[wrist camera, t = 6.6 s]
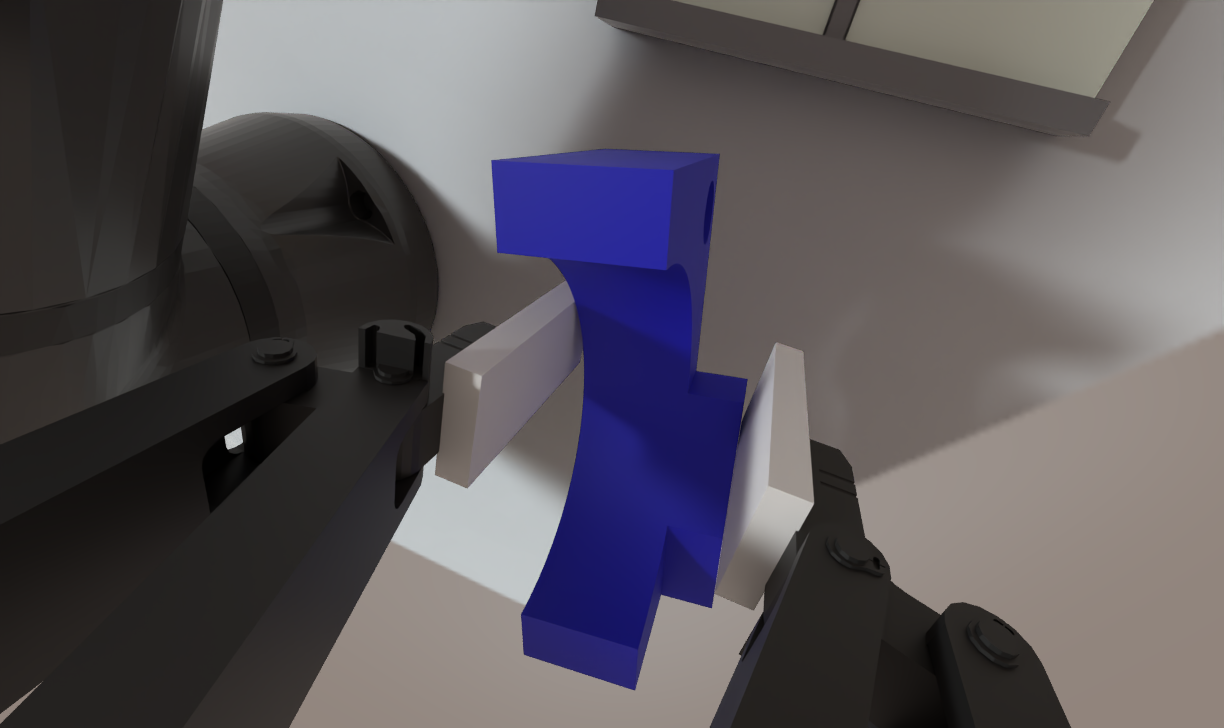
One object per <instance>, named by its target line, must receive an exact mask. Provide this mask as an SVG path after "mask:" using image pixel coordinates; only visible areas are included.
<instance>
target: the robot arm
mask: <svg viewBox="0 0 1224 728" xmlns="http://www.w3.org/2000/svg"><path fill="white" fill-rule="evenodd" d="M222 4H223V0H0V714H1V713H2V712H3V711H5V710H6V709H7V708H8V707H10V706H11V705H12V704H14V703H15V702H16V701H18V700H19V699H20V698H21V697H23V696H24V695H25V694H27V693H28V692H29V691H31V690H32V689H33V688H35V687H36V686H37V685H39V684H40V683H41V682H42V683H41V684H40V685H39V686H38V687H37V688H36V689H35V690H34V691H33V692H32V693H31V694H30V695H29V696H28V697H27V698H26V699H25V700H24V701H23V702H22V703H21V704H20V705H19V706H18V707H17V708H16V709H15V710H14V711H13V712H12V713H11V714H10V715H9V716H8V717H7V718H6V719H5V720H4V721H3V722H2V723H1V724H0V728H289V727H290V725H291V723H292V721H293V719H294V717H295V716H296V714H297V712H298V710H299V708H300V706H301V705H302V702H303V701H304V699H305V697H306V695H307V693H308V691H309V690H310V688H311V686H312V684H313V682H314V681H315V679H316V677H317V675H318V673H319V671H320V670H321V668H322V666H323V664H324V662H325V660H326V659H327V657H328V655H329V653H330V651H331V649H332V647H333V645H334V644H335V642H336V640H337V638H338V636H339V635H340V633H341V631H342V629H343V627H344V625H345V624H346V622H347V620H348V618H349V616H350V614H351V613H352V611H353V609H354V607H355V605H356V603H357V601H358V600H359V598H360V596H361V594H362V592H363V590H364V588H365V586H366V585H367V583H368V581H369V579H370V577H371V576H372V574H373V572H374V570H375V568H376V567H377V565H378V563H379V561H380V559H381V557H382V555H383V554H384V552H385V550H386V548H387V546H388V544H389V543H390V541H391V539H392V537H393V535H394V533H395V532H396V530H397V528H398V526H399V524H400V522H401V521H402V519H403V517H404V515H405V513H406V511H407V509H408V508H409V506H410V504H411V502H412V500H413V498H414V497H415V495H416V493H417V491H418V489H419V487H420V486H421V482H422V478H423V467H424V465H425V464H426V463H427V462H428V461H430V460H431V459H432V458H433V457H434V456H435V455H436V454H437V459H436V470H435V475H437V476H439V477H441V478H444V479H446V480H449V481H451V482H453V483H456V484H458V485H460V486H463V487H465V488H468V487H469V486H470V485H471V484H472V483H473V482H474V480H475V479H476V478H477V477H478V476H479V475H480V474H481V473H482V471H483V470H484V469H485V468H486V467H487V466H488V465H489V464H490V462H491V461H492V460H493V459H494V458H495V457H496V456H497V455H498V454H499V452H500V451H501V450H502V449H503V448H504V447H505V446H506V445H507V443H508V442H509V441H510V440H511V439H512V438H513V437H514V436H515V434H516V433H517V432H518V431H519V430H520V429H521V428H522V427H523V425H524V424H525V423H526V422H527V421H528V420H529V419H530V418H531V417H532V415H533V414H534V413H535V412H536V411H537V410H538V409H539V408H540V406H541V405H542V404H543V403H544V402H545V401H546V400H547V399H548V397H549V396H550V395H551V394H552V393H553V392H554V391H555V390H556V388H557V387H558V386H559V385H560V384H561V383H562V382H563V381H564V380H565V378H566V377H567V376H568V375H569V374H570V373H571V372H572V371H573V369H574V368H575V367H576V366H577V365H578V364H579V363H580V359H581V355H582V350H583V341H582V333H581V326H580V321H579V316H578V311H577V308H576V304H575V301H574V298H573V295H572V292H571V290H570V287H569V285H568V283H567V281H566V280H565V281H564V282H562V283H561V284H559V285H558V286H556V287H555V288H553V289H552V290H551V291H549V292H548V293H546V294H545V295H543V296H542V297H540V298H539V299H537V300H536V301H534V302H533V303H531V304H530V305H528V306H527V307H525V308H524V309H523V310H521V311H520V312H518V313H517V314H515V315H514V316H512V317H511V318H509V319H508V320H506V321H505V322H503V323H502V324H500V325H499V326H497V327H496V326H493V325H490V324H487V323H485V322H480V323H476V324H471V325H467V326H464V327H462V328H460V329H459V330H457V331H456V332H454V333H452V334H451V336H447V337H446V338H444V339H442V340H441V342H437V343H436V344H434V345H433V336H432V334H431V333H430V329H431V326H432V324H433V320H434V317H435V312H436V307H437V298H438V277H437V267H436V260H435V255H434V251H433V247H432V243H431V239H430V236H429V233H428V230H427V227H426V225H425V222H424V220H423V218H422V215H421V213H420V211H419V209H418V207H417V205H416V203H415V201H414V200H413V198H412V196H411V194H410V193H409V191H408V189H407V188H406V186H405V185H404V183H403V182H402V180H401V179H400V178H399V176H398V175H397V174H396V172H395V171H394V170H393V169H392V167H391V166H390V165H389V164H388V163H387V162H386V161H385V160H384V158H383V157H382V156H381V155H380V154H379V153H378V152H377V151H375V150H374V149H373V148H372V147H371V146H370V145H369V144H367V143H366V142H365V141H364V140H362V139H361V138H360V137H358V136H357V135H355V134H354V133H352V132H351V131H349V130H347V129H346V128H344V127H342V126H340V125H338V124H336V123H334V122H332V121H329V120H326V119H323V118H320V117H316V116H312V115H306V114H294V113H269V112H262V113H252V114H246V115H240V116H236V117H233V118H231V119H228V120H225V121H223V122H220V123H218V124H215V125H212V126H210V127H207V128H205V129H202V127H203V120H204V114H205V108H206V102H207V96H208V90H209V84H210V78H211V72H212V66H213V59H214V53H215V47H216V41H217V35H218V29H219V23H220V17H221V11H222ZM240 427H241V431H242V438H243V443H242V444H240V445H238V446H237V447H235V448H232V449H229V450H228V449H227V448H226V443H225V437H224V436H226V435H227V434H229V433H231V432H233V431H234V430H236V429H238V428H240ZM856 496H857V493H856V487H855V485H854V477H853V472H852V467H851V465H850V464H849V462H848V461H847V460H846V458H845V457H844V455H843V454H842V453H841V451H840V450H838V449H835V448H833V447H830V446H827V445H824V444H822V443H819V442H816V441H813V440H811V439H810V438H809V424H808V411H807V397H806V383H805V369H804V355H803V351H801V350H798V349H795V348H792V347H789V346H786V345H783V344H780V343H777V342H776V343H775V345H774V348H773V350H772V352H771V355H770V357H769V359H768V362H767V364H766V366H765V369H764V371H763V373H762V376H761V378H760V380H759V383H758V385H757V387H756V390H755V392H754V394H753V396H752V399H751V401H750V403H749V406H748V408H747V410H746V413H745V415H744V417H743V420H742V422H741V429H740V435H739V441H738V448H737V454H736V461H735V467H734V473H733V480H732V486H731V492H730V499H729V505H728V511H727V518H726V524H725V531H724V537H723V543H722V550H721V556H720V562H719V569H718V575H717V581H716V588H715V594H716V595H719V596H721V597H723V598H726V599H728V600H730V601H733V602H735V603H737V604H740V605H742V606H744V607H747V608H749V609H751V610H754V609H755V607H756V605H757V604H758V602H759V600H760V598H761V597H762V595H763V593H764V612H763V613H762V615H761V617H760V618H759V620H758V622H757V623H756V625H755V627H754V629H753V631H752V632H751V634H750V636H749V637H748V639H747V641H746V643H745V644H744V646H743V648H742V649H741V651H740V653H739V654H740V655H741V658H740V660H739V663H738V665H737V667H736V669H735V672H734V674H733V676H732V678H731V681H730V683H729V685H728V687H727V690H726V692H725V694H724V696H723V699H722V701H721V703H720V705H719V708H718V710H717V712H716V714H715V717H714V719H713V721H712V723H711V726H710V728H1071V727H1070V724H1069V722H1068V720H1067V718H1066V715H1065V713H1064V711H1063V709H1062V707H1061V705H1060V702H1059V700H1058V698H1057V696H1056V693H1055V691H1054V689H1053V687H1052V684H1051V682H1050V680H1049V678H1048V676H1047V674H1046V671H1045V669H1044V667H1043V665H1042V663H1041V661H1040V660H1039V658H1038V657H1037V655H1036V654H1035V652H1034V650H1033V649H1032V647H1031V646H1030V645H1029V644H1028V643H1027V642H1026V641H1025V640H1024V639H1023V638H1022V637H1021V635H1020V634H1019V633H1018V632H1017V631H1016V630H1015V629H1013V628H1012V627H1011V626H1010V625H1009V624H1007V623H1005V621H1003V620H1002V619H1000V618H999V617H997V616H995V615H994V614H992V613H990V612H988V611H986V610H984V609H982V608H981V607H978V606H974V605H971V604H967V603H963V602H962V603H953V604H950V605H949V606H948V608H947V609H946V610H945V611H944V612H943V613H942V615H940V614H938V613H937V612H935V611H933V610H932V609H930V608H929V607H927V606H926V605H924V604H923V603H921V602H919V601H918V600H916V599H915V598H913V597H911V596H910V595H908V594H907V593H905V592H904V591H903V590H901V589H900V588H899V587H897V586H896V585H895V584H894V583H893V582H891V575H890V567H889V565H888V563H887V561H886V560H885V558H884V556H883V555H882V553H881V552H880V551H879V550H878V549H877V548H876V547H875V546H874V545H873V544H872V543H871V542H870V541H869V540H867V539H866V538H865V534H864V530H863V524H862V519H861V514H860V508H859V504H858V498H856ZM764 591H765V592H764Z"/></svg>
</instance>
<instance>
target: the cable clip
mask: <svg viewBox="0 0 1224 728" xmlns="http://www.w3.org/2000/svg"><path fill="white" fill-rule="evenodd" d="M719 156H720V154H709V153H687V152H664V151H642V150H619V149H599V150H589V151H579V152H569V153H559V154H549V155H540V156H530V157H520V158H510V159H500V160H491V162H492V177H493V192H494V208H495V223H496V238H497V253H506V254H515V255H525V256H534V257H544V258H549V259H550V260H552V262H553V263H554V264H555V265H556V266H557V267H558V268H559V270H560V271H561V273H562V274H563V276H564V277H565V279H566V281H567V283H568V285H569V287H570V290H571V292H572V295H573V298H574V301H575V304H576V308H577V311H578V316H579V321H580V326H581V333H582V341H583V352H584V397H583V410H582V420H581V429H580V436H579V443H578V449H577V454H576V460H575V465H574V470H573V474H572V479H571V483H570V487H569V491H568V495H567V499H566V503H565V506H564V510H563V513H562V517H561V520H560V523H559V526H558V529H557V532H556V535H555V538H554V541H553V544H552V547H551V549H550V552H549V554H548V557H547V560H546V562H545V565H544V567H543V569H542V572H541V574H540V577H539V579H538V581H537V583H536V585H535V588H534V590H533V592H532V594H531V596H530V598H529V600H528V602H527V604H526V606H525V608H524V610H523V612H522V614H521V620H522V635H523V650H524V655H527V656H530V657H533V658H536V659H539V660H542V661H545V662H548V663H551V664H554V665H558V666H561V667H564V668H567V669H570V670H573V671H576V672H579V673H582V674H585V675H588V676H592V677H595V678H598V679H601V680H604V681H607V682H610V683H613V684H616V685H619V686H623V687H626V688H629V689H632V690H635V689H636V685H637V681H638V677H639V674H640V670H641V666H642V663H643V659H644V655H645V651H646V648H647V644H648V641H649V637H650V633H651V629H652V626H653V622H654V618H655V615H656V611H657V607H658V604H659V600H660V596H661V595H664V596H668V597H672V598H675V599H680V600H683V601H687V602H691V603H694V604H698V605H701V606H705V607H709V608H712V604H713V597H714V591H715V585H716V578H717V572H718V565H719V559H720V553H721V546H722V540H723V533H724V527H725V521H726V514H727V508H728V501H729V495H730V489H731V482H732V476H733V470H734V463H735V457H736V450H737V444H738V438H739V431H740V425H741V418H742V412H743V406H744V399H745V393H746V386H747V380H748V379H744V378H738V377H731V376H725V375H718V374H712V373H705V372H699V371H696V368H697V359H698V350H699V341H700V331H701V322H702V313H703V304H704V294H705V285H706V276H707V267H708V258H709V248H710V239H711V230H712V221H713V212H714V202H715V193H716V184H717V175H718V165H719Z"/></svg>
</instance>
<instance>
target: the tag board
mask: <svg viewBox="0 0 1224 728" xmlns="http://www.w3.org/2000/svg"><path fill="white" fill-rule="evenodd" d="M1153 1H1154V0H598V1H597V7H596V12H595V16H596V17H598V18H599V19H601V20H603V21H604V22H606V23H607V24H609V25H611V26H612V27H616V28H620V29H624V30H628V31H632V32H636V33H641V34H645V35H649V36H653V37H657V38H661V39H665V40H669V41H673V42H677V43H681V44H685V45H689V46H693V47H697V48H702V49H706V50H710V51H714V52H718V53H722V54H726V55H730V56H734V57H738V58H742V59H746V60H750V61H754V62H758V63H763V64H767V65H771V66H775V67H779V68H783V69H787V70H791V71H795V72H799V73H803V74H807V75H811V76H815V77H819V78H823V79H828V80H832V81H836V82H840V83H844V84H848V85H852V86H856V87H860V88H864V89H868V90H872V91H876V92H880V93H884V94H889V95H893V96H897V97H901V98H905V99H909V100H913V101H917V102H921V103H925V104H929V105H933V106H937V107H941V108H945V109H950V110H954V111H958V112H962V113H966V114H970V115H974V116H978V117H982V118H986V119H990V120H994V121H998V122H1002V123H1006V124H1010V125H1015V126H1019V127H1023V128H1027V129H1031V130H1035V131H1039V132H1043V133H1047V134H1051V135H1055V136H1090V134H1091V132H1092V131H1093V129H1094V127H1095V126H1096V124H1097V123H1098V121H1099V119H1100V118H1101V116H1102V115H1103V113H1104V111H1105V110H1106V108H1107V107H1108V105H1109V103H1110V101H1105V100H1101V99H1097V98H1095V97H1096V95H1097V94H1098V92H1099V90H1100V89H1101V87H1102V85H1103V84H1104V82H1105V80H1106V79H1107V77H1108V75H1109V74H1110V72H1111V70H1112V69H1113V67H1114V65H1115V64H1116V62H1117V61H1118V59H1119V57H1120V56H1121V54H1122V52H1123V51H1124V49H1125V47H1126V46H1127V44H1128V42H1129V41H1130V39H1131V37H1132V36H1133V34H1134V32H1135V31H1136V29H1137V28H1138V26H1139V24H1140V23H1141V21H1142V19H1143V18H1144V16H1145V14H1146V13H1147V11H1148V9H1149V8H1150V6H1151V4H1152V3H1153Z"/></svg>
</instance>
